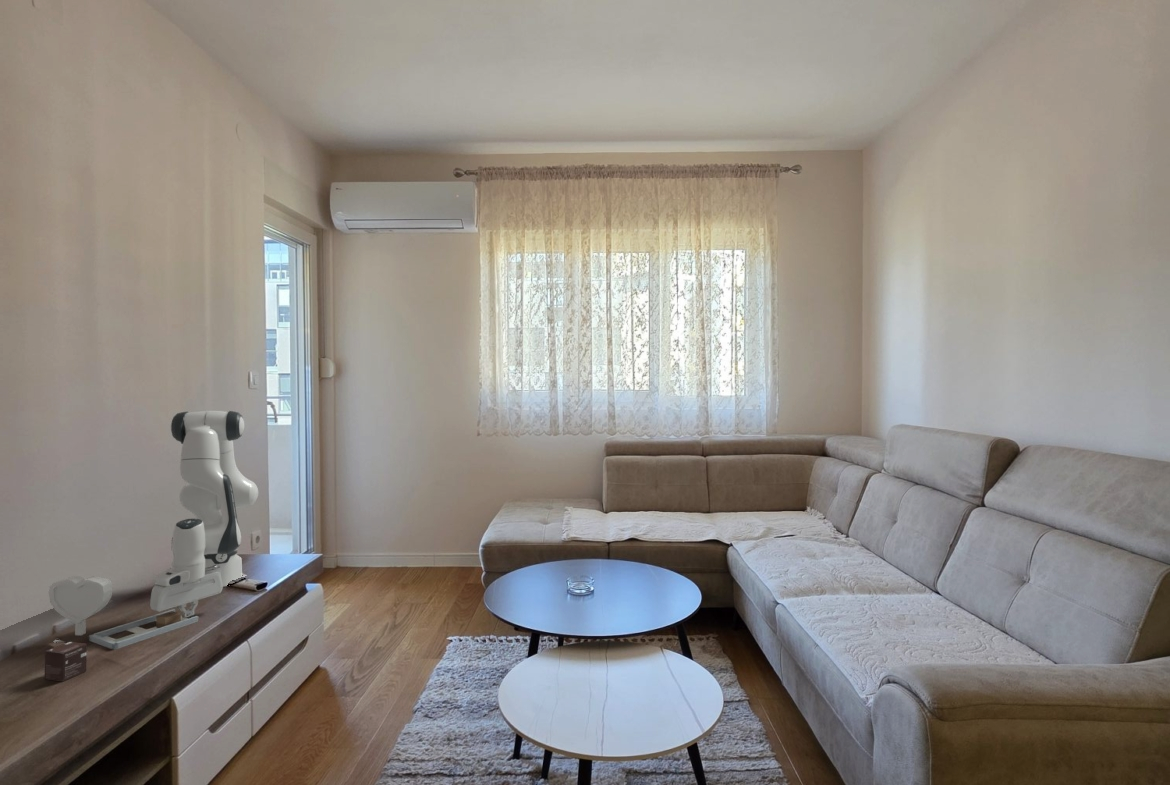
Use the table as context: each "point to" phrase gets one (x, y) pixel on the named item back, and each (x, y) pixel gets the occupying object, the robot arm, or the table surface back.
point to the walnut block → (167, 619)
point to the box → (65, 661)
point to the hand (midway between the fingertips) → (187, 616)
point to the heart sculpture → (80, 599)
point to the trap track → (136, 631)
